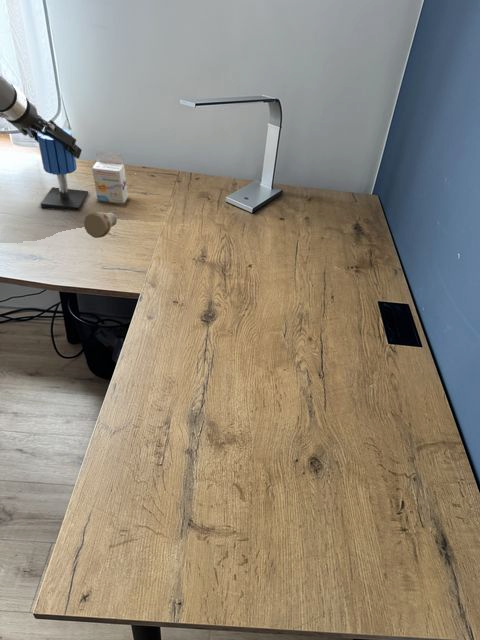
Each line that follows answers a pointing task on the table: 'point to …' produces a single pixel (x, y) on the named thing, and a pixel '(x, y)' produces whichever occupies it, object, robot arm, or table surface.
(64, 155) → the blue ribbed pencil cup
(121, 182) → the ink box
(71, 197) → the stand
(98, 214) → the mug
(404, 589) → the table surface
